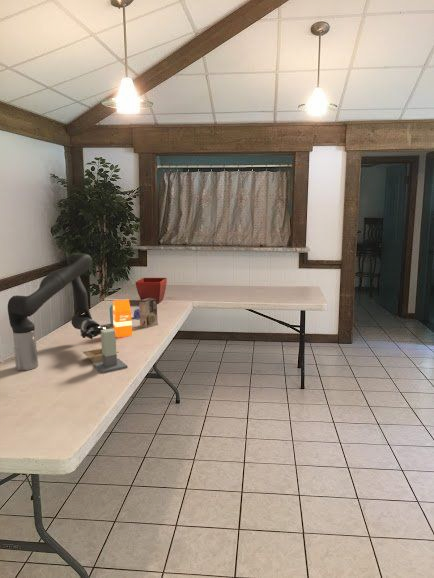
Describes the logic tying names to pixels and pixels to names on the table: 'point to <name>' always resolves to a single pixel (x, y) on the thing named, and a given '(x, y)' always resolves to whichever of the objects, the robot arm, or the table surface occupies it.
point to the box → (109, 347)
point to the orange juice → (122, 318)
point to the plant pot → (151, 288)
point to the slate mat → (104, 369)
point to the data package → (111, 315)
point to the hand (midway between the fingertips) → (100, 335)
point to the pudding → (136, 314)
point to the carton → (95, 355)
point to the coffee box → (148, 312)
